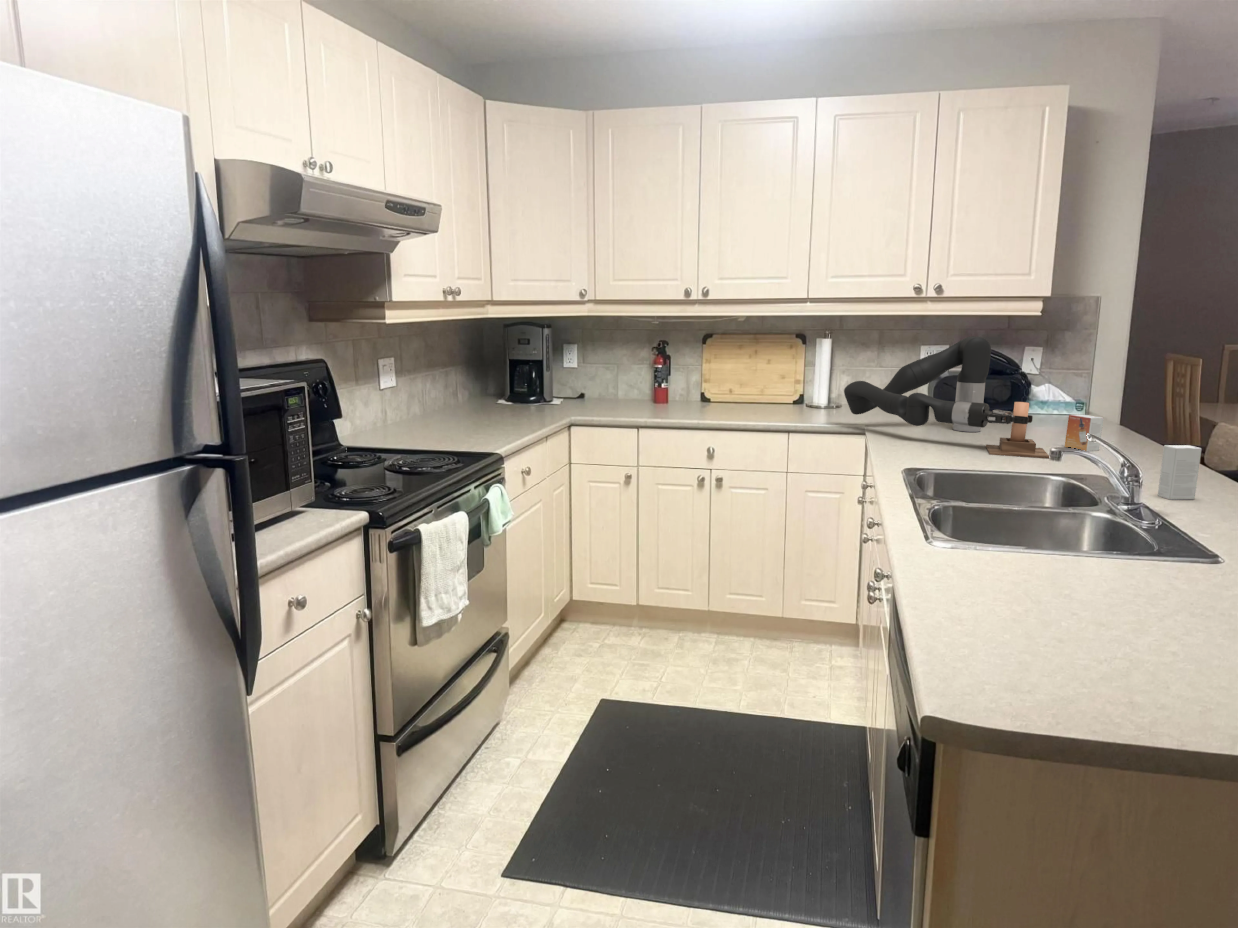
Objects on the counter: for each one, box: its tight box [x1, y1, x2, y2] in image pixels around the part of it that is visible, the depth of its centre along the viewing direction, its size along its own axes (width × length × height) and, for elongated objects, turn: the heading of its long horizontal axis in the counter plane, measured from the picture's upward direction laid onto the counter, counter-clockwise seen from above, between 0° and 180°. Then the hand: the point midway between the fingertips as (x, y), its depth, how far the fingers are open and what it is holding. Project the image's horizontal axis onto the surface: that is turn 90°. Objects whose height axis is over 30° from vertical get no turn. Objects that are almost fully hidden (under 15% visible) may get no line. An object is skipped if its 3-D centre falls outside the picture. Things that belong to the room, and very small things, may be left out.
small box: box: [1064, 413, 1104, 452], centre depth 249 cm, size 8×6×10 cm
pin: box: [1009, 401, 1030, 442], centre depth 241 cm, size 4×4×12 cm
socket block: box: [985, 437, 1050, 460], centre depth 242 cm, size 16×16×4 cm
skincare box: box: [1157, 444, 1202, 500], centre depth 183 cm, size 6×4×12 cm
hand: (1029, 419), depth 239 cm, fingers closed on pin, 4 cm apart
